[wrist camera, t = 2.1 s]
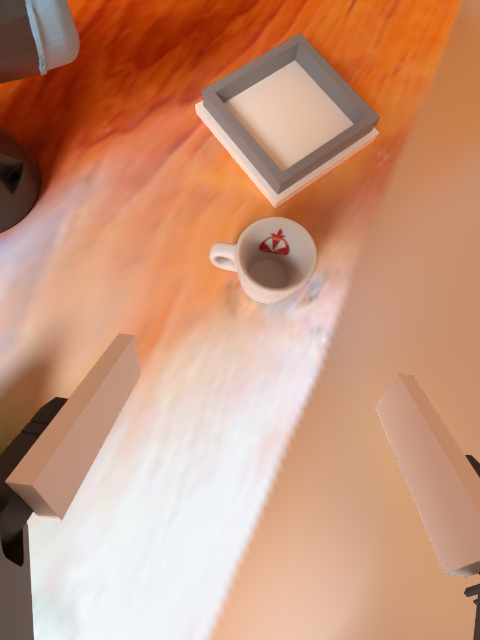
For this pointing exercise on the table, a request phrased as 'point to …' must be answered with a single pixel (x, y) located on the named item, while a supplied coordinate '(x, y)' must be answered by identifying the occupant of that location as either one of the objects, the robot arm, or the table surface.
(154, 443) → the table surface
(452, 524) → the robot arm
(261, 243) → the cup
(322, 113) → the gray rimmed square tray
